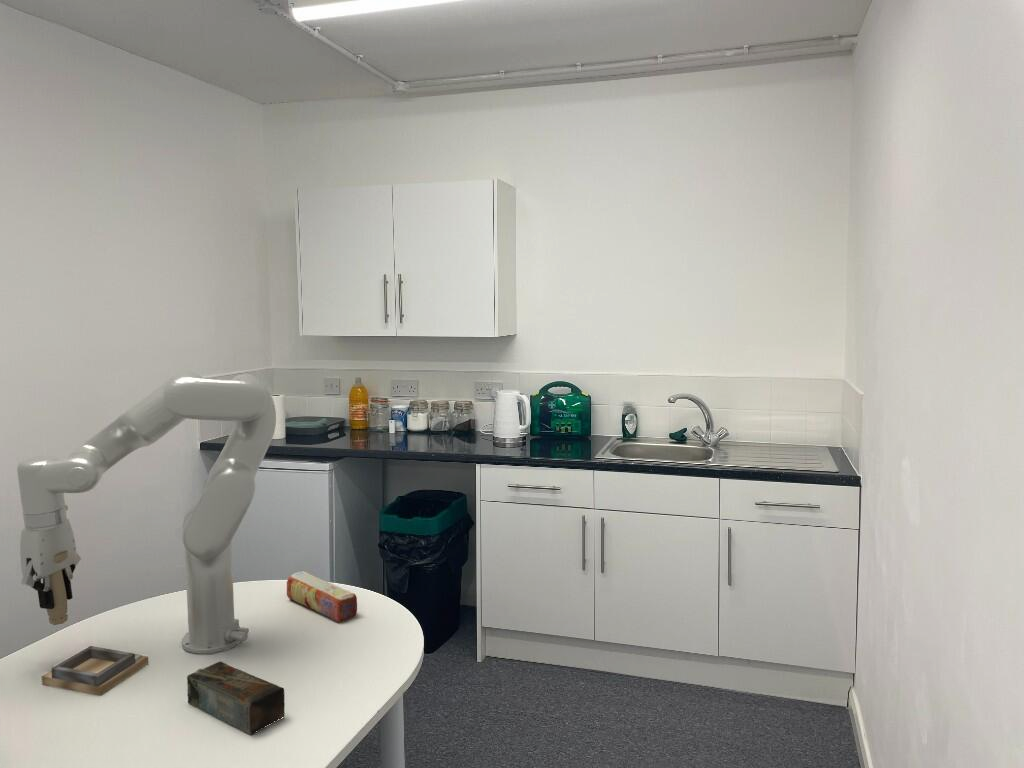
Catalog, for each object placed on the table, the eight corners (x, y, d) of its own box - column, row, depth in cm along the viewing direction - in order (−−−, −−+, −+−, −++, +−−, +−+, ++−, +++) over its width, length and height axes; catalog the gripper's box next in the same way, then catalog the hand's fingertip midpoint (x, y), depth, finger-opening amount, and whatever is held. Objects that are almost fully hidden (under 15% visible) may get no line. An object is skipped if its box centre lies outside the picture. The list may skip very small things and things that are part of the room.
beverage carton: (222, 687, 162) (221, 655, 161) (287, 718, 152) (286, 685, 151) (186, 704, 156) (184, 672, 155) (252, 738, 145) (250, 703, 144)
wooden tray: (148, 664, 171) (147, 647, 170) (100, 695, 158) (99, 677, 158) (92, 655, 174) (91, 638, 174) (42, 684, 162) (40, 666, 162)
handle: (66, 627, 168) (57, 557, 165) (36, 627, 168) (27, 557, 166) (80, 617, 172) (72, 548, 170) (51, 617, 173) (42, 548, 171)
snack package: (360, 617, 195) (359, 590, 194) (337, 626, 190) (336, 598, 189) (307, 593, 209) (306, 567, 208) (284, 600, 204) (284, 574, 203)
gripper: (63, 504, 176) (73, 585, 179) (-6, 530, 160) (7, 619, 163) (92, 506, 174) (101, 588, 176) (25, 532, 158) (37, 622, 161)
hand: (56, 602), depth 170 cm, fingers closed on handle, 3 cm apart
